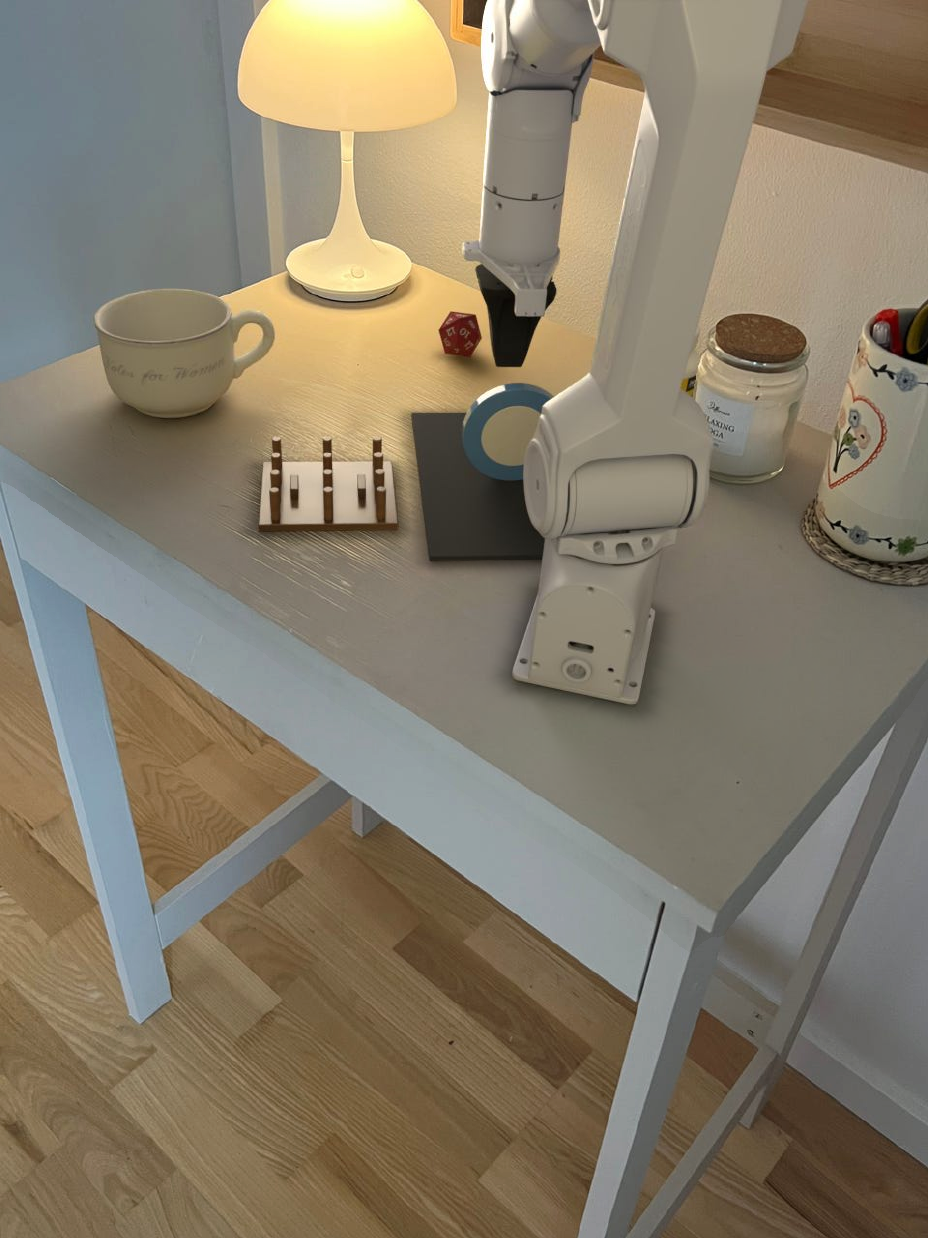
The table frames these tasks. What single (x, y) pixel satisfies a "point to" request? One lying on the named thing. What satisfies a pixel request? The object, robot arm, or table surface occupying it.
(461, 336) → the dice
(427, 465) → the placemat
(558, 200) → the robot arm
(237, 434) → the table surface
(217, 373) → the teacup
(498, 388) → the plate
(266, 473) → the rack
